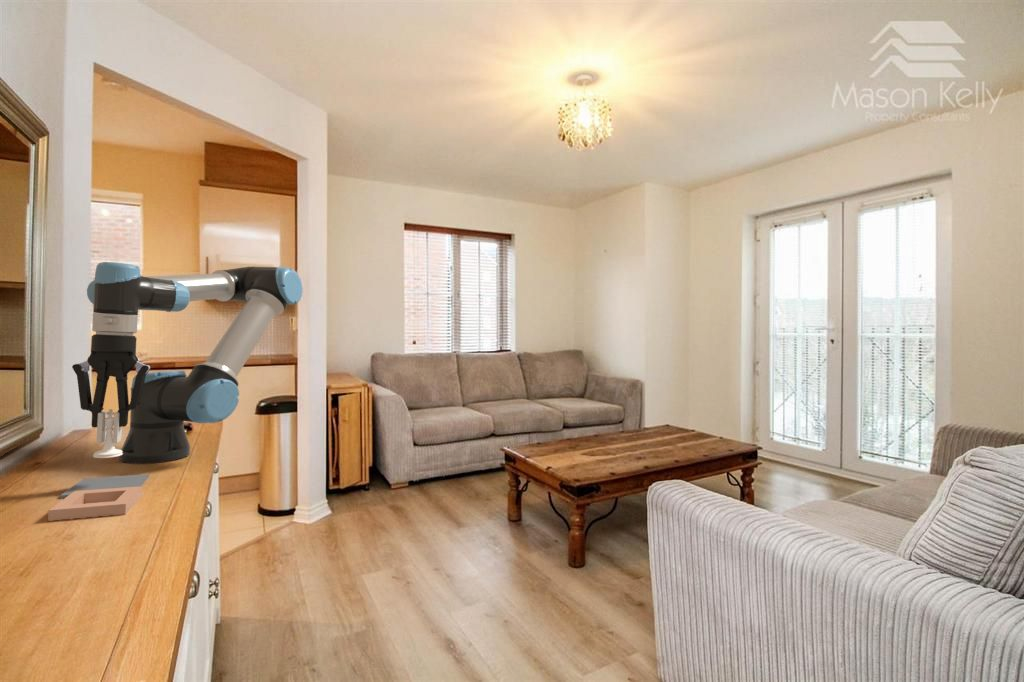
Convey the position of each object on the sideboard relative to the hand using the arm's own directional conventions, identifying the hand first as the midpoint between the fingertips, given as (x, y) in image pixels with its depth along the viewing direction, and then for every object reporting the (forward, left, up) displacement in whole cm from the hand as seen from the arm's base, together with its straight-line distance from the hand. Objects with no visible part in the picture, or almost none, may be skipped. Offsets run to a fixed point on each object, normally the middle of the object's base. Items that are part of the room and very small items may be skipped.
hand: (108, 441), depth 103 cm
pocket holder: (+14, +3, -10) cm, 17 cm away
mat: (0, 0, -10) cm, 10 cm away
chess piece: (0, 0, -3) cm, 3 cm away
